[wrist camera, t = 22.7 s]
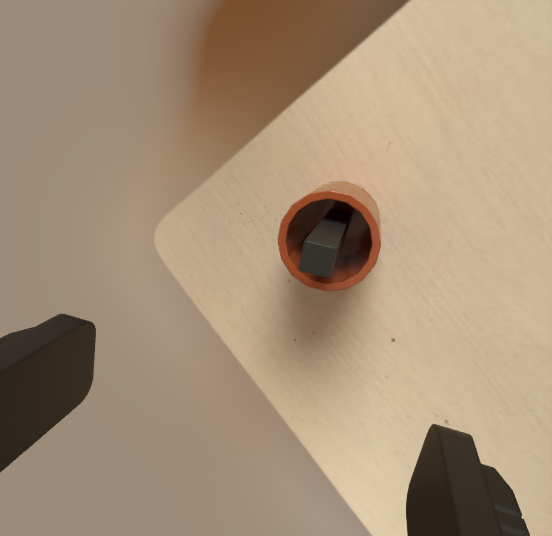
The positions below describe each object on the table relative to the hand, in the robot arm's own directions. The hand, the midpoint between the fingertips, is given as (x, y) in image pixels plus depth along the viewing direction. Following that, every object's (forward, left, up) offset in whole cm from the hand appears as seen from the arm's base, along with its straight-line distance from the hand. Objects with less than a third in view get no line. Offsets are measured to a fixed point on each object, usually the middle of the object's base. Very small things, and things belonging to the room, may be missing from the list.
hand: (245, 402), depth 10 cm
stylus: (0, 0, -25) cm, 25 cm away
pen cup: (0, 0, -26) cm, 26 cm away
